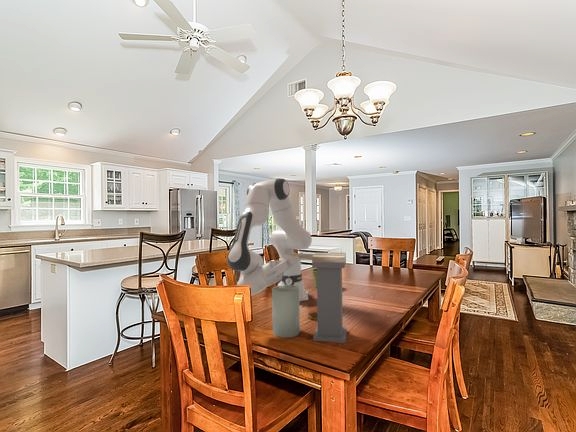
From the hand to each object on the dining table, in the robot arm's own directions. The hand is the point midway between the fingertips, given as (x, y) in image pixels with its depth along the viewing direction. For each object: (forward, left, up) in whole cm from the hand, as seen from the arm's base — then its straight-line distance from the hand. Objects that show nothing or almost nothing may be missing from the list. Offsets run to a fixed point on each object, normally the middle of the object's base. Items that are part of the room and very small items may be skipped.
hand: (301, 255), depth 126 cm
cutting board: (0, +5, -1) cm, 5 cm away
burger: (-20, +4, -32) cm, 38 cm away
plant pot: (-75, -2, -32) cm, 81 cm away
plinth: (0, +11, -31) cm, 33 cm away
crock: (0, -7, -31) cm, 32 cm away
